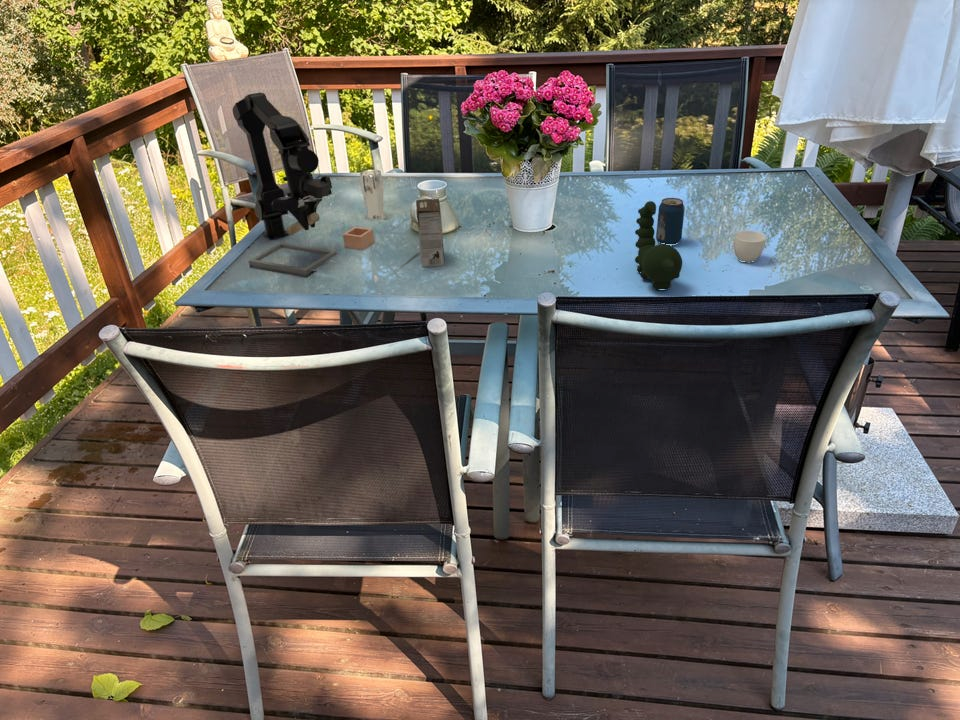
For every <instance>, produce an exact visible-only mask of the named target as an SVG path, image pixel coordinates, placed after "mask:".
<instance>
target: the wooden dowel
mask: <svg viewBox="0 0 960 720" xmlns="http://www.w3.org/2000/svg"><path fill="white" fill-rule="evenodd" d="M307 219H308V225H309V226H310V225H311V224H313V223H315V224H316V223H317V222H318V221H320V219H321V218H320V215H319V214H318V212H317V211H316V212H314V213H312V214H310V215H309V216H307ZM285 230H286V231H287V233H288V234H289V236H294V235H295V234H297V233H298V232H300V231H302V230H305V229H304V228H303V227H302V225H301V224H300V223H299V222H298V221H296V222H295V223H293V224H291V225H289V226H287V227H286V229H285Z"/></svg>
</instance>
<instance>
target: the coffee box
mask: <svg viewBox="0 0 960 720" xmlns="http://www.w3.org/2000/svg"><path fill="white" fill-rule="evenodd" d="M415 204H416V207H415V208H416V220H417V228H418V229H417V230H418V239H419V247H420V256H421V257H420V258H421V266H422V268H429V267H430V268H431V267H441V266H442V265H444V266H445V251H444V249H445V248H444V238H443V237H444V236H443V235H444V234H443V224H442V212H441V204H440V199H439V198H432V199H431V198H426V199H425V198H424V199H423V198H422V199H416V201H415ZM442 267H443V266H442Z"/></svg>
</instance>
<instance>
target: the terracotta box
mask: <svg viewBox="0 0 960 720" xmlns="http://www.w3.org/2000/svg"><path fill="white" fill-rule="evenodd" d="M342 237H343V244H344V248H347V249H355V250H361V251H363V250H365V249H366V248H368V247H369V246H371V245H373V244H374V243H375V236H374V229H373V228H365V227H359V226H354V227H352V228H351V229H349V230H348V231H346V232H344V233H343V234H342Z"/></svg>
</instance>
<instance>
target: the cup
mask: <svg viewBox="0 0 960 720" xmlns="http://www.w3.org/2000/svg"><path fill="white" fill-rule="evenodd" d="M766 240H767V235H766V234H765V233H762V232H759V231H757V230H756V231H755V230H741V231H738V232H735V234H734V239H733V251H734V254H735V256H736V258H737V260H738V259H739V260H741V261H745V262H752V261H754V262H755V260H756V261H757V260H758V259H759V258H760V256H761V255H762V253H763V251H764V249H765V246H766V242H767V241H766ZM739 260H738V261H739Z"/></svg>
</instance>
